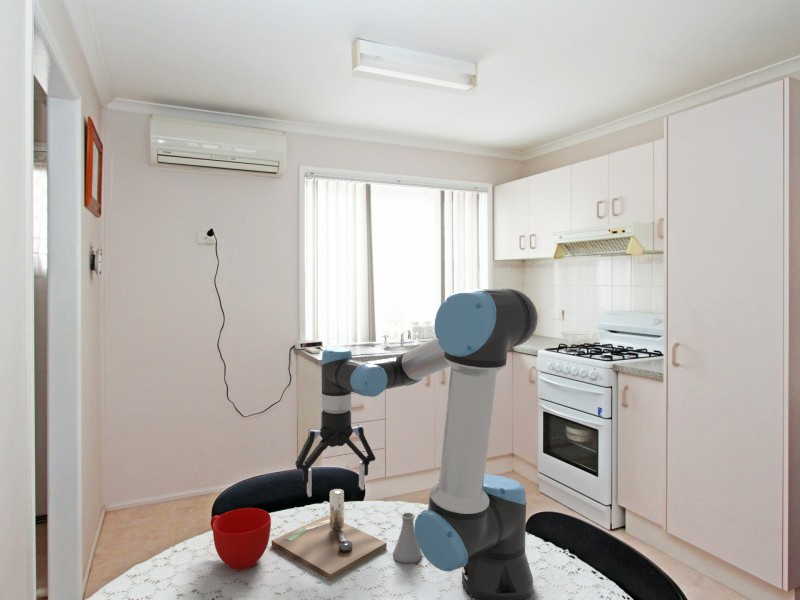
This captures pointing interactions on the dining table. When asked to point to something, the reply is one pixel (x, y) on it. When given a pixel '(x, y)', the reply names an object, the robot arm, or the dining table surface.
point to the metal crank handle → (338, 518)
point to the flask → (407, 542)
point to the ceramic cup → (241, 536)
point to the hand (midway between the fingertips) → (335, 491)
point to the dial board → (328, 547)
